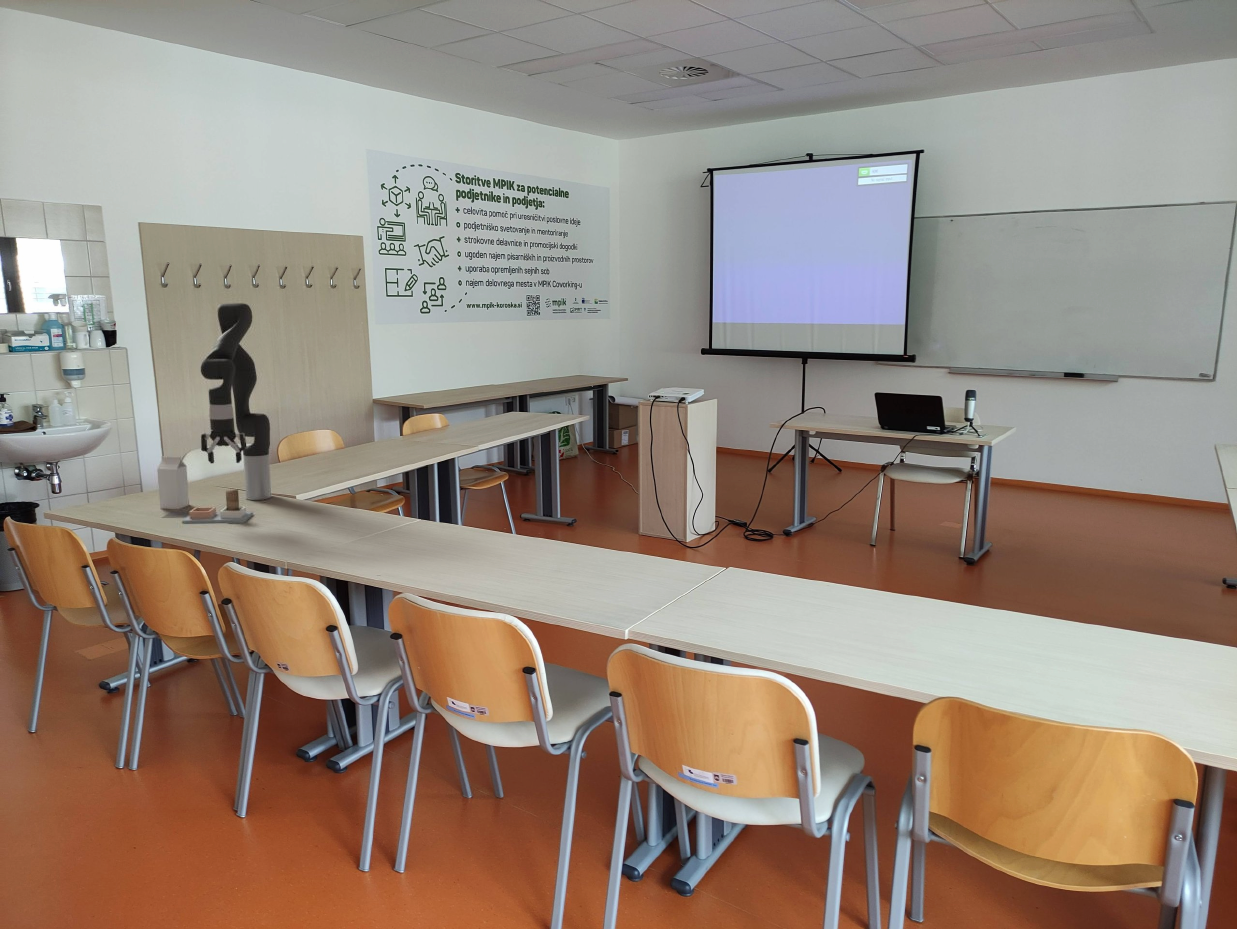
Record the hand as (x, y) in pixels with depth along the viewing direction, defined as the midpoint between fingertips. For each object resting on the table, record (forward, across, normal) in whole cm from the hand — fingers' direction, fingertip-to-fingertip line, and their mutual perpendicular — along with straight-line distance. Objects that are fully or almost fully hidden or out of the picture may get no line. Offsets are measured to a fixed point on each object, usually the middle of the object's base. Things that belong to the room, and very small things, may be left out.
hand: (225, 462), depth 297 cm
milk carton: (+20, +24, -18) cm, 36 cm away
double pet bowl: (+20, +3, +2) cm, 20 cm away
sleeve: (+18, -2, +2) cm, 19 cm away
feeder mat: (+20, +18, -5) cm, 27 cm away
